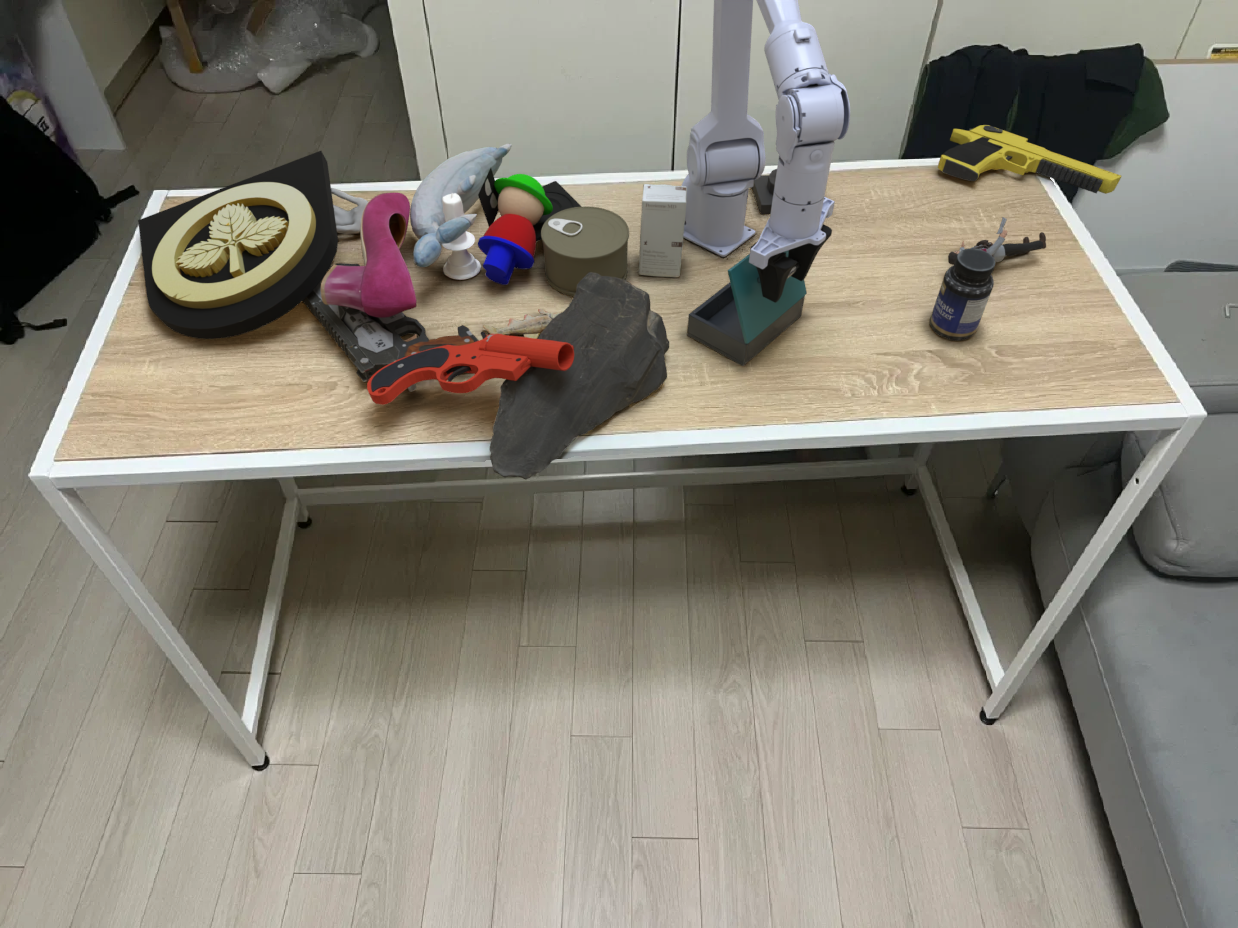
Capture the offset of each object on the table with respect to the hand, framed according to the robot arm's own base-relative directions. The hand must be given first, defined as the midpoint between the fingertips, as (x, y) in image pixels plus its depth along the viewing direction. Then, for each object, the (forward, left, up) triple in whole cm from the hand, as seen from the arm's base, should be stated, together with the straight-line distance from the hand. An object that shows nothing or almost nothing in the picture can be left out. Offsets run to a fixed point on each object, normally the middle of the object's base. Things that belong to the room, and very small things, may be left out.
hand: (783, 287), depth 116 cm
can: (-29, -5, -9) cm, 30 cm away
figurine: (-73, -29, -6) cm, 79 cm away
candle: (-42, -16, -9) cm, 46 cm away
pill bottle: (+16, +18, -9) cm, 26 cm away
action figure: (+17, +41, -7) cm, 44 cm away
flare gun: (-19, -43, -1) cm, 47 cm away
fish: (-28, -18, -8) cm, 34 cm away
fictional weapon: (-38, -24, -8) cm, 46 cm away
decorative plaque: (-51, -45, -6) cm, 68 cm away
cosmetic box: (-21, +3, -9) cm, 23 cm away
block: (-18, +29, -9) cm, 35 cm away
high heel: (-50, -28, -2) cm, 57 cm away
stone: (-14, -12, -4) cm, 19 cm away
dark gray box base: (-5, 0, -9) cm, 10 cm away
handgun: (+7, +51, -7) cm, 52 cm away
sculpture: (-36, -20, +2) cm, 41 cm away
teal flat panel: (-2, 0, 0) cm, 2 cm away
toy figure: (-36, -17, -6) cm, 40 cm away
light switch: (-41, -7, -7) cm, 42 cm away
